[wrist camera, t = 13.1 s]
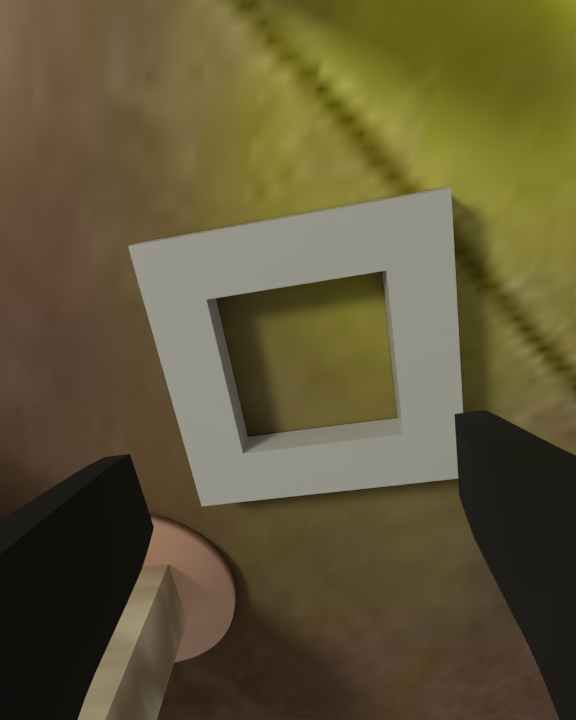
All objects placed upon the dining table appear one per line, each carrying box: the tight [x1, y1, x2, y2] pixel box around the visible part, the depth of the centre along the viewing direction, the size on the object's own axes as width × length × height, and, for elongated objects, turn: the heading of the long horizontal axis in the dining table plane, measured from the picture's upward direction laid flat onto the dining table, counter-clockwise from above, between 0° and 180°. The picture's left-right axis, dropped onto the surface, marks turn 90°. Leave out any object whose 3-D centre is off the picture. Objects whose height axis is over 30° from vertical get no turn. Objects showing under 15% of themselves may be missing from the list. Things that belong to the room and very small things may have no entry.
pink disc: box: [143, 515, 236, 662], centre depth 25 cm, size 10×10×1 cm
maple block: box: [78, 564, 187, 720], centre depth 21 cm, size 4×4×8 cm
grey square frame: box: [128, 188, 463, 506], centre depth 20 cm, size 12×12×2 cm
